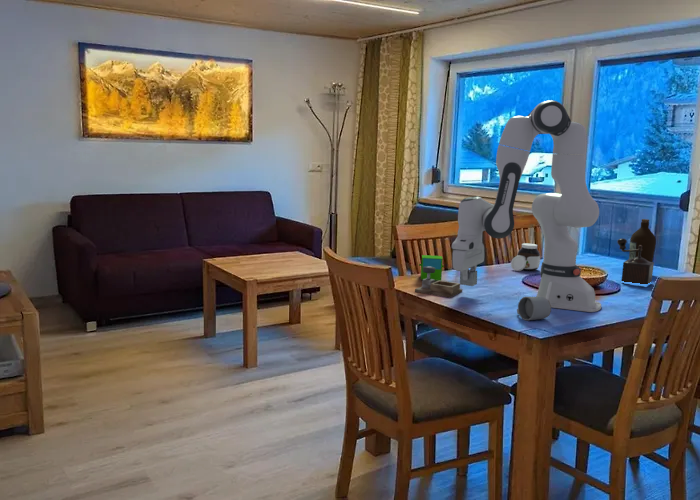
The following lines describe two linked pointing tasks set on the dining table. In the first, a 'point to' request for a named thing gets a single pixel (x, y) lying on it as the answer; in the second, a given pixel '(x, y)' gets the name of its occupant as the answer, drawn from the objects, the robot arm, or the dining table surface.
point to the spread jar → (526, 258)
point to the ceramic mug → (533, 308)
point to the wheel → (428, 271)
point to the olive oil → (643, 242)
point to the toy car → (432, 262)
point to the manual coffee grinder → (636, 266)
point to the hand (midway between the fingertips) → (468, 278)
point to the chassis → (439, 288)
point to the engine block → (471, 280)
